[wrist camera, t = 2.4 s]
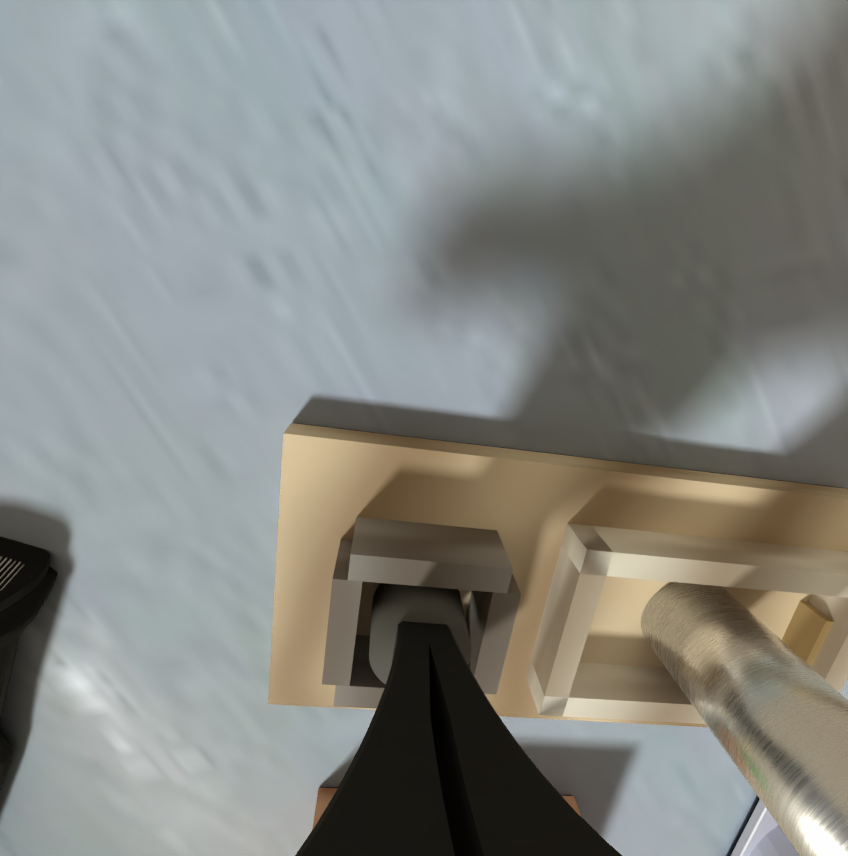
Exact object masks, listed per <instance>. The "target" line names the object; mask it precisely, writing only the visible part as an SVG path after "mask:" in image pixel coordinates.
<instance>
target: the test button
mask: <svg viewBox="0 0 848 856" xmlns="http://www.w3.org/2000/svg"><path fill="white" fill-rule="evenodd" d="M402 621H407V622H421V623H435V624H447V625H448V627H449V628H450V630H451V632H452V634H453V636H454V639H455V641H456V643H457V645H458V647H459V649H460V651H461V653H462V655H463V657H464V659H465V660H466V662H467V664H469V661H470V658H471V643H470V638H469V633H468V629H467V624H466V620H465V615H464V610H463V606H462V601H461V596H460V592H459V590H458V589H448V588H436V587H424V586H412V585H400V584H388V583H380V585H379V586H378V587H377V589H376V591H375V594H374V596H373V602H372V617H371V632H370V647H369V661H370V665H371V668H372V670H373V672H374V673H375V675H376V676H377V677H378V678H379V679H380V680H381V681H382V682H383V683H384V684H386V682H387V679H388V676H389V672H390V669H391V665H392V659H393V653H394V646H395V640H396V633H397V627H398V624H399V623H401V622H402Z"/></svg>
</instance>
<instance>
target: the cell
mask: <svg viewBox="0 0 848 856" xmlns="http://www.w3.org/2000/svg"><path fill="white" fill-rule="evenodd" d="M641 630H642V633H643V636H644V638H645V639H646V641H647V642H648V643H649V645H650V646H651V648H652V649H653V650H654V652H655V653H656V655H657V656H658V657H659V659H660V660H661V662H662V663H663V664H664V666H665V667H666V669H667V670H668V671H669V673H670V674H671V676H672V677H673V678H674V680H675V681H676V683H677V684H678V685H679V687H680V688H681V690H682V691H683V692H684V694H685V695H686V697H687V698H688V699H689V701H690V702H691V704H692V705H693V706H694V708H695V709H696V711H697V712H698V713H699V715H700V716H701V718H702V719H703V720H704V722H705V723H706V725H707V726H708V727H709V729H710V730H711V732H712V733H713V734H714V736H715V737H716V739H717V740H718V741H719V743H720V744H721V746H722V747H723V748H724V750H725V751H726V753H727V754H728V755H729V757H730V758H731V760H732V761H733V762H734V764H735V765H736V767H737V768H738V769H739V771H740V772H741V773H742V775H743V776H744V778H745V779H746V780H747V782H748V783H749V785H750V786H751V787H752V789H753V790H754V792H755V793H756V794H757V796H758V797H759V799H760V800H761V801H762V803H763V804H764V806H765V807H766V808H767V810H768V811H769V813H770V814H771V815H772V817H773V818H774V820H775V821H776V822H777V824H778V825H779V827H780V828H781V829H782V831H783V832H784V834H785V835H786V836H787V838H788V839H789V841H790V842H791V843H792V845H793V846H794V848H795V849H796V850H797V852H798V853H799V855H800V856H848V700H847V699H846V698H845V697H843V696H842V695H841V694H840V693H839V692H838V691H837V690H836V689H835V688H834V687H832V686H831V685H830V684H829V683H828V682H827V681H826V680H825V679H824V678H823V677H822V676H820V675H819V674H818V673H817V672H816V671H815V670H814V669H813V668H812V667H811V666H809V665H808V664H807V663H806V662H805V661H804V660H803V659H802V658H801V657H800V656H798V655H797V654H796V653H795V652H794V651H793V650H792V649H791V648H790V647H789V646H787V645H786V644H785V643H784V642H783V641H782V640H781V639H780V638H779V637H778V636H776V635H775V634H774V633H773V632H772V631H771V630H770V629H769V628H768V627H767V626H765V625H764V624H763V623H762V622H761V621H760V620H759V619H758V618H757V617H756V616H755V615H753V614H752V613H751V612H750V611H749V610H748V609H747V608H746V607H745V606H744V605H742V604H741V603H740V602H739V601H738V600H737V599H736V598H735V597H734V596H733V595H731V594H730V593H729V592H728V591H727V590H726V589H725V588H724V587H723V586H713V585H701V584H690V583H679V582H671V583H669V584H668V585H666V586H664V587H663V588H661V589H660V590H659V591H658V592H656V593H655V594H654V595H653V596H652V597H651V599H650V600H649V601H648V603H647V604H646V606H645V608H644V610H643V613H642V617H641Z"/></svg>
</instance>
